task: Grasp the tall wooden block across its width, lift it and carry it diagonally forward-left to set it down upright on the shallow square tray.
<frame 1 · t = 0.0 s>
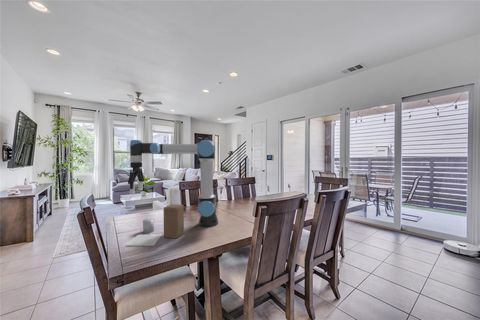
hand: (136, 192, 144), 28 cm above the table, fingers open, 13 cm apart
pale grey egg: (148, 231, 144), on the table
shallow square tray: (145, 240, 129), on the table
wooden block: (174, 235, 137), on the table
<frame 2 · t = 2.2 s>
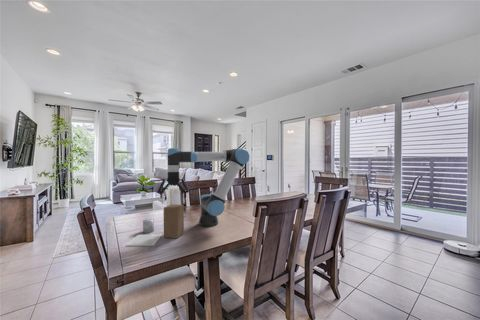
hand: (173, 203, 136), 22 cm above the table, fingers open, 13 cm apart
nothing on the table moved.
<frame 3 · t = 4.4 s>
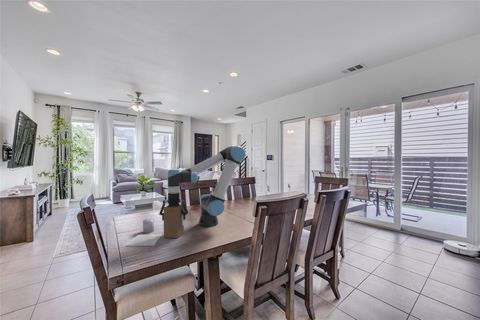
hand: (173, 224, 137), 7 cm above the table, fingers closed on wooden block, 11 cm apart
wooden block: (174, 235, 137), on the table, touching gripper
everything else where it was.
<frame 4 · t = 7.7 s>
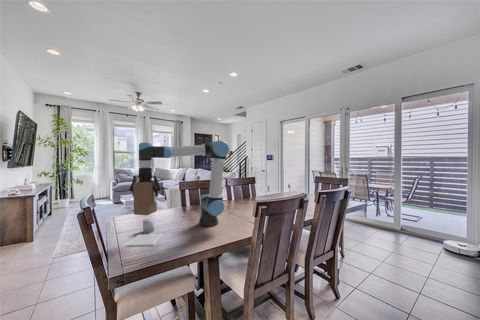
hand: (145, 202, 128), 24 cm above the table, fingers closed on wooden block, 11 cm apart
wooden block: (145, 213, 128), point 17 cm above the table, touching gripper
everything else where it was.
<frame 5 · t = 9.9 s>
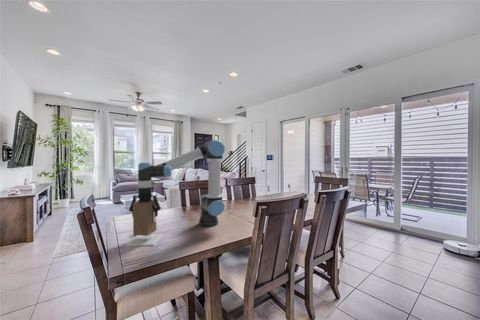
hand: (145, 221, 128), 12 cm above the table, fingers closed on wooden block, 11 cm apart
wooden block: (145, 233, 128), point 5 cm above the table, touching gripper
everything else where it was.
when the fingers open (10 cm above the table, at t = 11.5 s): wooden block drops 2 cm, resting on shallow square tray.
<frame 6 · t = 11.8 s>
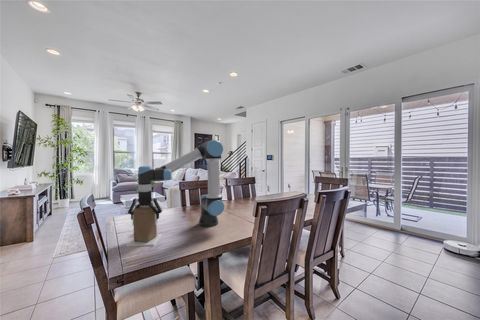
hand: (145, 224, 128), 10 cm above the table, fingers open, 13 cm apart
wooden block: (145, 239, 129), point 1 cm above the table, touching shallow square tray
everything else where it was.
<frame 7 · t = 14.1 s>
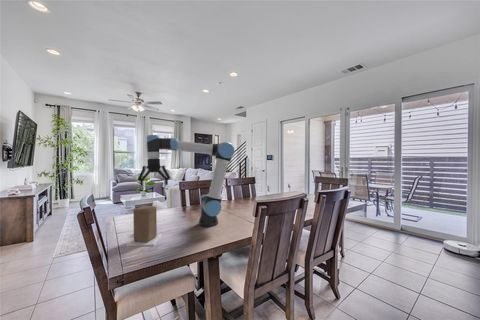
hand: (154, 190, 136), 31 cm above the table, fingers open, 13 cm apart
nothing on the table moved.
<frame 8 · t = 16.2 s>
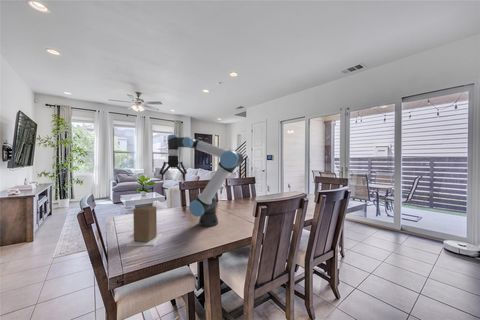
hand: (173, 183, 155), 33 cm above the table, fingers open, 13 cm apart
nothing on the table moved.
at the end: wooden block inside the target area on the shallow square tray (0.1 cm from its centre), point 0.7 cm above the shallow square tray's base; wooden block tilted 0°; the gripper is holding nothing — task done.
